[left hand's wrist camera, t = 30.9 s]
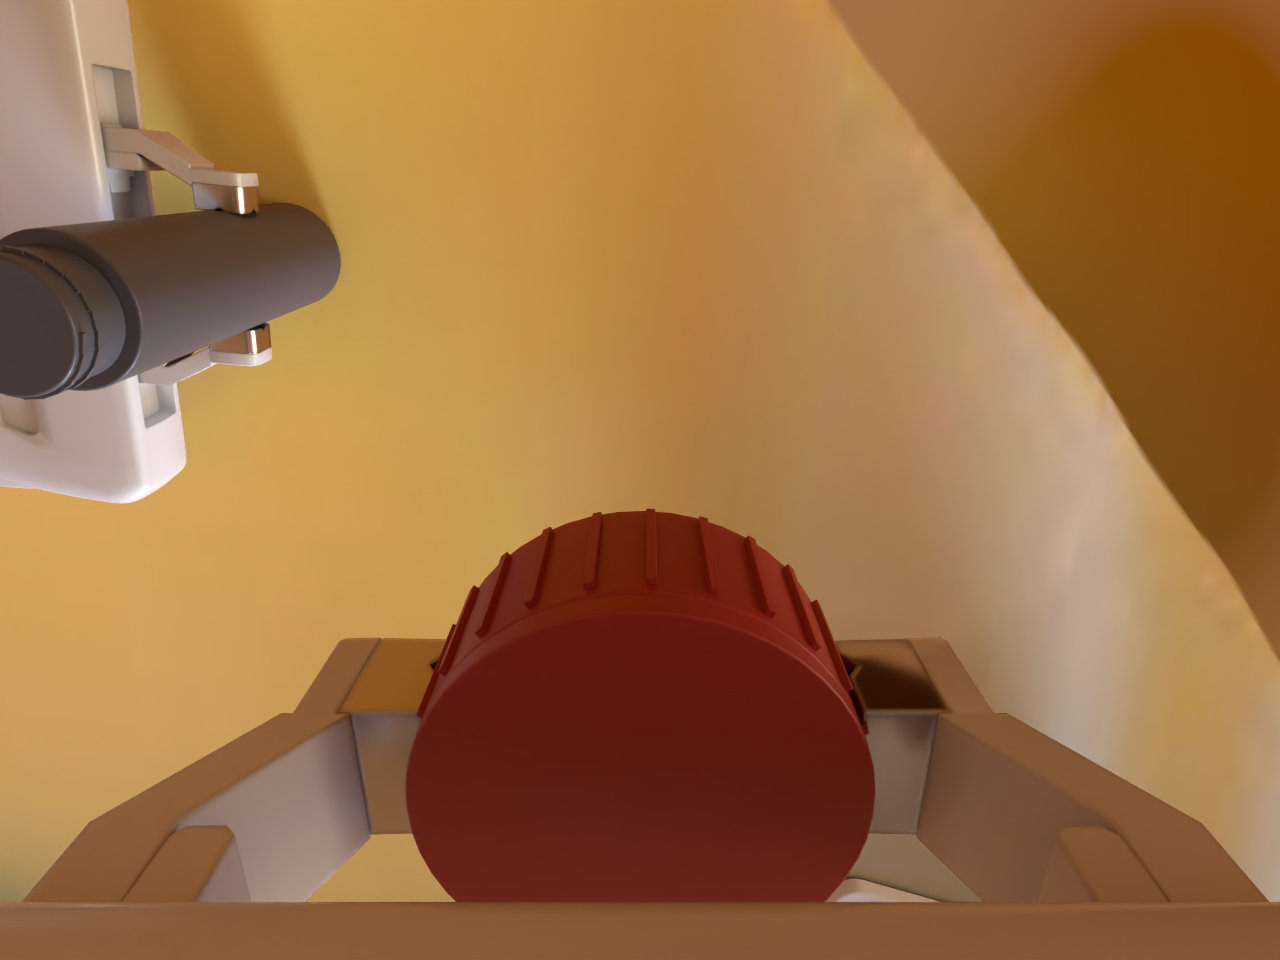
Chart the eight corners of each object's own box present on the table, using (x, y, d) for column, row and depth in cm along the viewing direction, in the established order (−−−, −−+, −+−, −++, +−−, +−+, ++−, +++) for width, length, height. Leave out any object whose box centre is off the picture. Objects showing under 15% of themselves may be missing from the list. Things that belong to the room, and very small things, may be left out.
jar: (240, 292, 36) (-82, 392, 20) (243, 192, 34) (-105, 215, 18) (337, 314, 36) (96, 429, 20) (344, 216, 35) (88, 258, 19)
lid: (666, 875, 12) (672, 1034, 10) (374, 702, 11) (306, 840, 9) (914, 654, 10) (986, 785, 8) (605, 422, 9) (594, 504, 7)
